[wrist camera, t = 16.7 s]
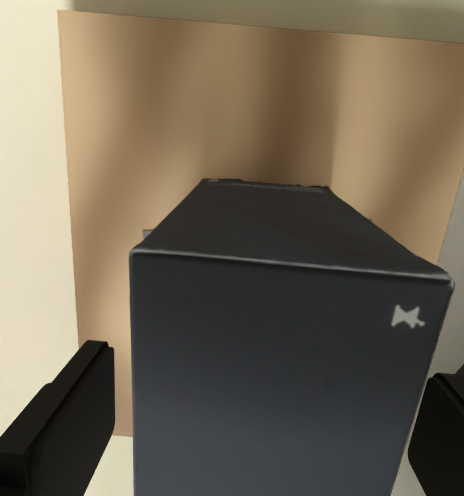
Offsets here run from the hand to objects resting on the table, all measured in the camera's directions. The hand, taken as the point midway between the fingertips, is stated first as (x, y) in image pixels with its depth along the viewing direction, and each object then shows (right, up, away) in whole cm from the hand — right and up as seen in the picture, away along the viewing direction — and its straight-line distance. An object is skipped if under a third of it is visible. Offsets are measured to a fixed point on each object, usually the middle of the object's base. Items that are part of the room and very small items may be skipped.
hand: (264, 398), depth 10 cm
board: (0, +3, +9) cm, 9 cm away
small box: (0, +3, +8) cm, 8 cm away
